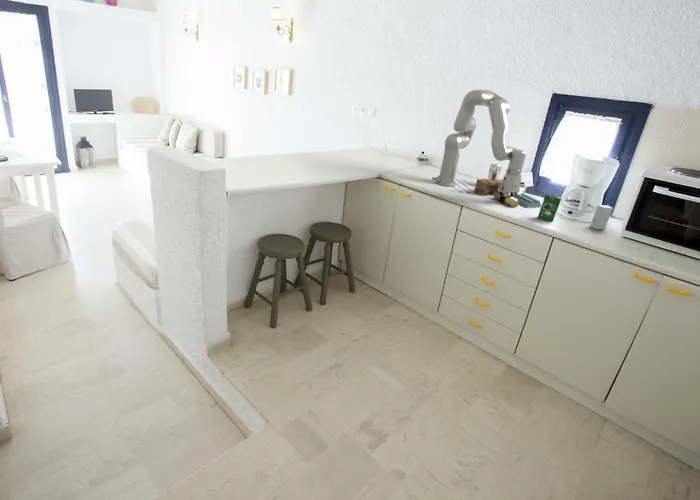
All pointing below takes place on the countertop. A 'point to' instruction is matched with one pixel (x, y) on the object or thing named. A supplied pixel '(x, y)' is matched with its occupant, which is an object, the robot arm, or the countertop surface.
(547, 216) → the coffee box
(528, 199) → the v block
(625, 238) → the countertop surface
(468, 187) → the countertop surface
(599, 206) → the skincare box
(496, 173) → the beer glass
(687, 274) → the countertop surface
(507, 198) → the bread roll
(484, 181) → the beam
